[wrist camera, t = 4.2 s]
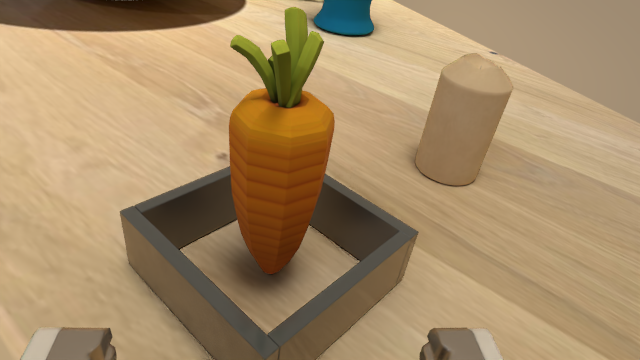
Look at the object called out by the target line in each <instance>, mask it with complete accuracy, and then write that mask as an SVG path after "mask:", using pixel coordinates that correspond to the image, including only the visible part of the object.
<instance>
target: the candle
mask: <svg viewBox="0 0 640 360" xmlns="http://www.w3.org/2000/svg"><path fill="white" fill-rule="evenodd" d="M512 90H513V85H512V83H511V80H510V79H509V77H508V76H507V74H506V73H505V72H504V70H503V69H502V67H500V68H499V67H498V66H497V65H496V64H495V63H494V62H492V61H491V60H489V59H486V58H483V57H482V56H481V55H480V54H477V53H473V54H467V55H464V56H462V57H461V58H459V59H457V60H456V61H454V62H452V63H450V64H449V65H447V66H446V67H444V68H443V69H442V72H441V75H440V78H439V82H438V85H437V88H436V91H435V95H434V98H433V101H432V105H431V108H430V111H429V115H428V118H427V121H426V124H425V128H424V131H423V134H422V138H421V141H420V144H419V147H418V151H417V155H416V159H415V163H416V166H417V168H418V169H419V170H420V171H421V172H422V173H423V174H424V175H426V176H427V177H429V178H431V179H433V180H435V181H438V182H440V183H444V184H448V185H467V184H469V183H471V182H473V181H474V179H475V178H476V176H477V174H478V172H479V170H480V167H481V165H482V162H483V160H484V158H485V155H486V153H487V150H488V148H489V145H490V143H491V141H492V138H493V136H494V133H495V131H496V128H497V126H498V124H499V121H500V119H501V116H502V114H503V112H504V109H505V107H506V104H507V102H508V99H509V97H510V95H511V92H512Z"/></svg>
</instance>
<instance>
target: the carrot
mask: <svg viewBox="0 0 640 360" xmlns="http://www.w3.org/2000/svg"><path fill="white" fill-rule="evenodd" d="M285 30H286V42H287V43H286V42H285V40H277V41H275V42H273V43H271V50H272V56H271V57H270V58H269V59H268V61H267V59H266V57H265V56H264V54H263V53H262V51H261V50H260V48H259V47H258V46H256V45H255V44H254V43H252V42H251V41H250V40H248V39H246V38H244V37H242V36H240V35H236V36H235V37H234V38H233V39H232V41H231V45H230V47H232V48H233V49H234V50H236V51H237V52H239V53H240V54H242V55H243V56H245V57H246V58H247V59H248V60H249V62H250V63H251V64H252V65H253V66H254V68H255V69H256V71H257V72H258V73H259V75H260V76H261V78H262V80H263V82H264V84H265V86H266V88H265V89H258V90H253V91H251V92H250V93H249V94H247V95H246V96H245V97H244V98H243V100H242V101H241V102H240V103H239V104H238V105H237V106H236V107H235V109H234V110H233V111H232V114H231V117H230V122H229V145H230V171H231V188H232V195H233V200H234V205H235V210H236V215H237V219H238V223H239V227H240V230H241V234H242V236H243V238H244V241H245V243H246V245H247V247H248V249H249V251H250V253H251V254H252V255H253V257H254V258H255V260H256V261H257V263H258V264H259V266H260V267H261V269H262V270H263V272H265V273H269V274H273V273H276V272H279V271H280V270H281V269H282V268H283V267H284V266H285V265H286V264H287V263H288V262H289V261H290V260H291V258H292V257H293V256H294V254H295V253H296V251H297V250H298V249H299V247H300V244H301V242H302V240H303V237H304V235H305V233H306V230H307V228H308V225H309V222H310V220H311V217H312V214H313V211H314V208H315V206H316V203H317V200H318V197H319V194H320V192H321V188H322V184H323V179H324V175H325V171H326V166H327V162H328V157H329V152H330V147H331V142H332V137H333V132H334V122H335V121H334V114H333V113H332V111H331V110H330V109H329V108H328V107H327V106H326V105H325V104H323V103H322V102H321V101H320V100H318V99H317V98H316V97H314V96H313V95H312V94H311V93H309V92H306V91H302V87H303V85H304V84H305V82H306V80H307V78H308V76H309V75H310V73H311V71H312V69H313V67H314V65H315V63H316V61H317V58H318V56H319V54H320V51H321V49H322V46H323V43H324V41H323V40H322V38H321V36H320V35H319V33H316V32H313V31H312V32H310V34H309V36H308V31H307V18H306V14H305V12H304V11H303V10H301V9H299V8H297V7H291V8H288V9H286V10H285Z"/></svg>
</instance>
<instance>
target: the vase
mask: <svg viewBox="0 0 640 360" xmlns="http://www.w3.org/2000/svg"><path fill="white" fill-rule="evenodd" d="M371 1H372V0H324V4H323V7H322V9H321V11H320V12H319V13H318V14H317V15H316V17H315V18H314V22H315V24H316V25H317V26H318V27H320V28H322V29H324V30H327V31H330V32H334V33H338V34H345V35H365V34H368V33H370V32H372V31H373V30H374V25H373V23H372V21H371V19H370V4H371Z"/></svg>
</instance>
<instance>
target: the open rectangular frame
mask: <svg viewBox="0 0 640 360" xmlns="http://www.w3.org/2000/svg"><path fill="white" fill-rule="evenodd" d="M120 216H121V221H122V227H123V233H124V238H125V244H126V249H127V255H128V260H129V264H130V265H131V266H132V267H133V269H134V270H135V271H136V272H137V273H138V274H139V275H140V276H141V277H142V279H143V280H144V281H145V282H146V283H147V284H148V285H149V286H150V287H151V289H152V290H153V291H154V292H155V293H156V294H157V295H158V296H159V297H160V299H161V300H162V301H163V302H164V303H165V304H166V305H167V306H168V307H169V309H170V310H171V311H172V312H173V313H174V314H175V315H176V316H177V317H178V319H179V320H180V321H181V322H182V323H183V324H184V325H185V326H186V327H187V329H188V330H189V331H190V332H191V333H192V334H193V335H194V336H195V337H196V339H197V340H198V341H199V342H200V343H201V344H202V345H203V346H204V347H205V349H206V350H207V351H208V352H209V353H210V354H211V355H212V356H213V357H214V359H215V360H315V359H316V358H317V357H318V356H319V355H321V354H322V353H323V352H324V351H325V350H326V349H327V348H328V347H329V346H330V345H331V344H333V343H334V342H335V341H336V340H337V339H338V338H339V337H340V336H341V335H342V334H343V333H344V332H346V331H347V330H348V329H349V328H350V327H351V326H352V325H353V324H354V323H355V322H356V321H358V320H359V319H360V318H361V317H362V316H363V315H364V314H365V313H366V312H367V311H368V310H369V309H371V308H372V307H373V306H374V305H375V304H376V303H377V302H378V301H379V300H380V299H381V298H383V297H384V296H385V295H386V294H387V293H388V292H389V291H390V290H391V289H392V288H393V287H394V286H395V285H397V284H398V283H399V282H400V281H401V280H402V278H403V276H404V273H405V270H406V267H407V264H408V261H409V258H410V255H411V253H412V250H413V247H414V244H415V241H416V238H417V235H418V231H416V230H414V229H413V228H411V227H410V226H408V225H406V224H405V223H403V222H402V221H400V220H398V219H397V218H395V217H394V216H392V215H390V214H389V213H387V212H386V211H384V210H382V209H381V208H379V207H378V206H376V205H374V204H373V203H371V202H370V201H368V200H366V199H365V198H363V197H362V196H360V195H358V194H357V193H355V192H354V191H352V190H350V189H349V188H347V187H346V186H344V185H342V184H341V183H339V182H338V181H336V180H334V179H333V178H331V177H330V176H328V175H326V174H325V175H324V179H323V184H322V188H321V192H320V194H319V197H318V200H317V203H316V206H315V208H314V211H313V214H312V217H311V220H310V222H309V224H310V225H312V226H313V227H314V228H316V229H317V230H319V231H320V232H321V233H323V234H324V235H325V236H327V237H328V238H330V239H331V240H332V241H334V242H335V243H337V244H338V245H339V246H341V247H342V248H344V249H345V250H346V251H348V252H349V253H350V254H352V255H353V256H355V257H356V258H357V259H359V260H360V261H361V262H359V263H358V264H357V265H356V266H354V267H353V268H352V269H350V270H349V271H348V272H347V273H345V274H344V275H343V276H341V277H340V278H339V279H338V280H336V281H335V282H334V283H332V284H331V285H330V286H329V287H327V288H326V289H325V290H324V291H322V292H321V293H320V294H318V295H317V296H316V297H315V298H313V299H312V300H311V301H309V302H308V303H307V304H306V305H304V306H303V307H302V308H300V309H299V310H298V311H297V312H295V313H294V314H293V315H291V316H290V317H289V318H288V319H286V320H285V321H284V322H282V323H281V324H280V325H279V326H277V327H276V328H275V329H274V330H272V331H271V332H270V333H268V335H266V334H265V333H264V332H263V331H262V330H261V329H260V328H259V327H258V326H257V325H256V324H255V323H254V322H253V321H252V320H251V319H250V318H249V317H248V316H247V315H246V314H245V313H244V312H243V311H242V310H241V309H240V308H239V307H237V306H236V305H235V304H234V303H233V302H232V301H231V300H230V299H229V298H228V297H227V296H226V295H225V294H224V293H223V292H222V291H221V290H220V289H219V288H218V287H217V286H216V285H215V284H214V283H213V282H212V281H211V280H210V279H209V278H208V277H207V276H205V275H204V274H203V273H202V272H201V271H200V270H199V269H198V268H197V267H196V266H195V265H194V264H193V263H192V262H191V261H190V260H189V259H188V258H187V257H186V256H185V255H184V254H183V253H182V252H181V251H180V250H179V248H181V247H183V246H185V245H187V244H189V243H191V242H193V241H195V240H197V239H199V238H201V237H203V236H204V235H206V234H208V233H210V232H212V231H214V230H216V229H218V228H220V227H222V226H224V225H226V224H228V223H230V222H232V221H234V220H236V219H237V215H236V210H235V205H234V200H233V195H232V188H231V171H230V166H229V167H227V168H224V169H222V170H219V171H217V172H215V173H212V174H210V175H207V176H205V177H202V178H200V179H197V180H195V181H193V182H190V183H188V184H185V185H183V186H180V187H178V188H175V189H173V190H171V191H168V192H166V193H163V194H161V195H158V196H156V197H154V198H151V199H149V200H146V201H144V202H141V203H139V204H136V205H135V206H131V207H129V208H126V209H124V210H121V211H120Z"/></svg>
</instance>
